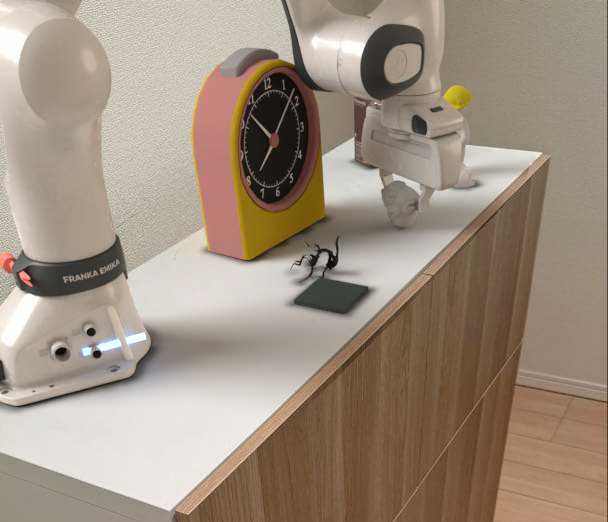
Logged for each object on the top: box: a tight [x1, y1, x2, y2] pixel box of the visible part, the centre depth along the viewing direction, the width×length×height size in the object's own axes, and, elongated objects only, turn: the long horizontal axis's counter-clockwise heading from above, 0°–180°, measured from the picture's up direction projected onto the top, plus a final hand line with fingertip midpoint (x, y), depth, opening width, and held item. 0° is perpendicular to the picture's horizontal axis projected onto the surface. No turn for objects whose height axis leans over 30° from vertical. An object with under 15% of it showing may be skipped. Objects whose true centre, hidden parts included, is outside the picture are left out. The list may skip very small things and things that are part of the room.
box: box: [353, 97, 381, 169], centre depth 149 cm, size 6×4×12 cm
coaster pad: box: [293, 276, 369, 315], centre depth 111 cm, size 8×8×1 cm
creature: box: [290, 235, 341, 283], centre depth 115 cm, size 8×5×8 cm
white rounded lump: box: [380, 179, 421, 228], centre depth 126 cm, size 6×7×7 cm
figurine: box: [442, 84, 477, 189], centre depth 139 cm, size 10×9×15 cm
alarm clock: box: [190, 47, 326, 261], centre depth 120 cm, size 21×9×26 cm, turn 143°
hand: (405, 203), depth 126 cm, fingers closed on white rounded lump, 6 cm apart
